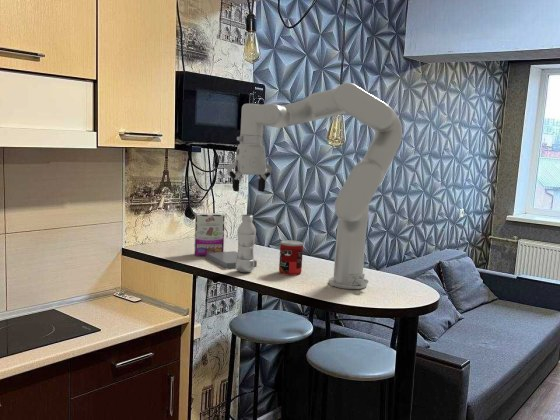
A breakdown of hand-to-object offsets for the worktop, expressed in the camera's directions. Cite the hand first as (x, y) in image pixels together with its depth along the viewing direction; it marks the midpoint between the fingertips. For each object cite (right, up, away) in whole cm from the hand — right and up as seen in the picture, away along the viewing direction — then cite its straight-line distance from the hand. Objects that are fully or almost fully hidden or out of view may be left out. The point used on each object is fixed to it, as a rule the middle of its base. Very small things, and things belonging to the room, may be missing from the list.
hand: (248, 191), depth 186 cm
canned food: (+14, -29, +6) cm, 33 cm away
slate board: (-8, -26, +17) cm, 32 cm away
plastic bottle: (-2, -28, +3) cm, 29 cm away
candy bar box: (-17, -24, +27) cm, 41 cm away
